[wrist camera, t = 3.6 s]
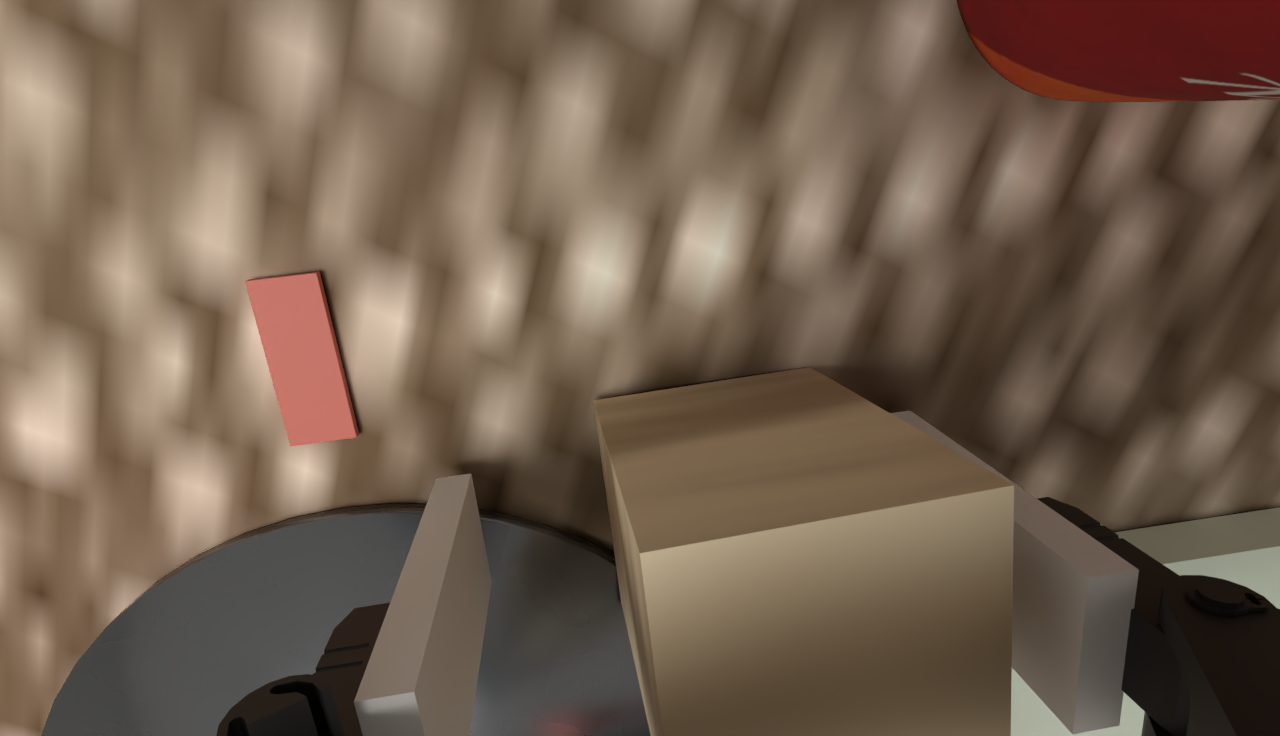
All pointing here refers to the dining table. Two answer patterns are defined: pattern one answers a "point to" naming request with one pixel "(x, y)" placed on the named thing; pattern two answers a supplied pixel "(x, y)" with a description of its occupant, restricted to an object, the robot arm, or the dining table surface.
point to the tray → (1216, 547)
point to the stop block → (806, 564)
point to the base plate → (325, 594)
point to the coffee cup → (1131, 48)
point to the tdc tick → (303, 357)
